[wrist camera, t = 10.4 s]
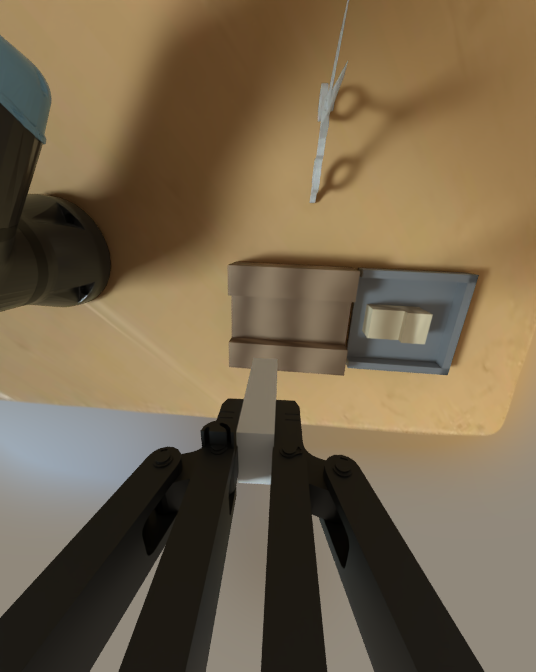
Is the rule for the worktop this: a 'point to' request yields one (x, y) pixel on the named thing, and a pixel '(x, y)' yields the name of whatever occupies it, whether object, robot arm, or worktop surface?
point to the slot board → (291, 315)
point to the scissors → (326, 116)
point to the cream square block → (382, 321)
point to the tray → (417, 291)
